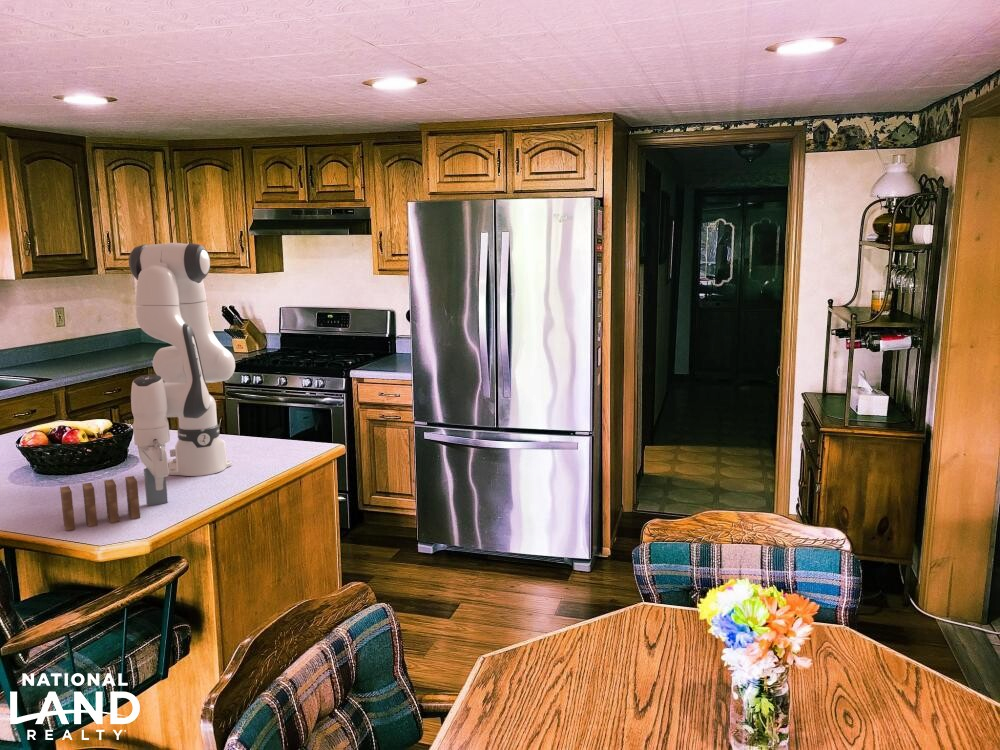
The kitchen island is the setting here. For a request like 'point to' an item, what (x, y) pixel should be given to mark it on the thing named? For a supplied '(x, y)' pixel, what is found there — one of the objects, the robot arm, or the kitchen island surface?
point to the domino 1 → (67, 508)
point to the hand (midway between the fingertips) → (155, 485)
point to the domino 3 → (111, 501)
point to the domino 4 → (132, 497)
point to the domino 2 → (90, 504)
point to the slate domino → (154, 490)
